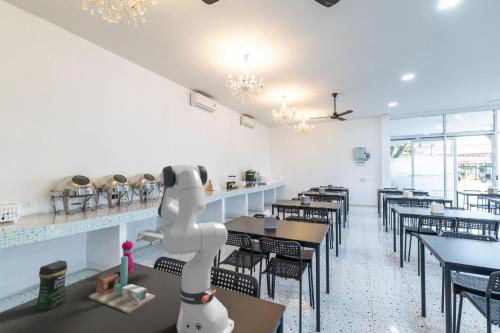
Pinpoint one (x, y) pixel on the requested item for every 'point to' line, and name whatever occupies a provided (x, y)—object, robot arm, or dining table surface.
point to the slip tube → (124, 277)
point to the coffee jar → (52, 285)
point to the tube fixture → (120, 301)
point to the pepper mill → (128, 254)
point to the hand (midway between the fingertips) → (144, 242)
